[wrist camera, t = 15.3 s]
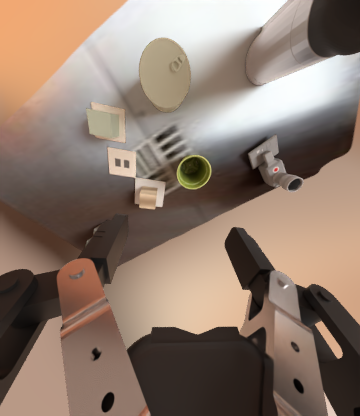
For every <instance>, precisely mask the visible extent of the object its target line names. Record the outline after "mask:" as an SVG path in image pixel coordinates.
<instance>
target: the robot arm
mask: <svg viewBox="0 0 360 416" xmlns="http://www.w3.org/2000/svg"><path fill="white" fill-rule="evenodd" d="M358 52H360V0H288V1H287V2H286V3H285V4H284V5H283V6H282V7H281V8H280V9H279V10H278V11H277V12H276V13H275V14H274V15H273V16H272V17H271V18H270V19H269V20H268V21H267V22H266V23H265V25H264V26H263V27H262V30H261V33H260V34H259V35H258V36H257V37H256V38H255V40H254V41H253V43H252V44H251V46H250V48H249V50H248V54H247V57H246V74H247V77H248V79H249V80H250V81H251V82H252V83H253V84H255V85H264V84H266V83H269V82H271V81H274V80H276V79H279V78H281V77H284V76H286V75H289V74H291V73H294V72H296V71H299V70H301V69H304V68H306V67H309V66H311V65H314V64H316V63H319V62H321V61H324V60H326V59H328V58H331V57H333V56H336V55H351V54H355V53H358ZM127 237H128V215H124V214H115V216H114V218H113V219H112V221H111V220H106V221H105V222H103V223H102V224H100V226H99V227H98V229H97V230H96V232H95V233H94V235H93V237H92V238H91V239H90V241H89V242H88V244H87V245H86V247H85V248H84V249H83V251H82V252H81V254H80V256H79V257H78V258H77V259H76V260H73V261H71V262H69V263H68V264H66V265H65V266H64V267H63V268H62V269H60V270H57V271H52V272H47V273H42V274H37V275H34V274H33V273H32V272H31V271H29V270H27V269H19V270H14V271H11V272H8V273H5V274H3V275H1V276H0V405H1V403H2V401H3V399H4V398H5V396H6V394H7V392H8V390H9V388H10V387H11V385H12V383H13V381H14V380H15V378H16V376H17V374H18V373H19V371H20V369H21V367H22V365H23V363H24V362H25V360H26V358H27V356H28V355H29V353H30V351H31V349H32V348H33V346H34V344H35V342H36V340H37V339H38V337H39V335H40V333H41V331H42V330H43V328H44V326H45V324H46V322H47V321H48V320H49V319H52V318H55V317H58V316H61V315H62V321H63V325H62V327H61V330H60V336H61V347H62V355H63V363H64V371H65V380H66V388H67V396H68V404H69V412H70V416H328V413H327V409H326V402H325V397H324V392H325V394H326V396H327V398H328V400H329V402H330V404H331V406H332V407H333V409H334V411H335V413H336V415H337V416H360V325H359V324H358V323H357V322H356V321H355V319H353V317H352V316H351V315H350V314H349V313H348V311H347V310H346V309H345V308H344V307H343V306H342V305H341V304H340V302H339V301H338V300H337V299H336V298H335V297H334V296H333V295H332V294H331V293H330V292H328V291H327V290H326V289H325V288H323V287H321V286H319V285H316V284H311V285H310V286H309V287H307V288H304V287H302V286H299V285H296V284H294V283H293V281H292V280H291V279H290V278H289V277H288V276H287V275H285V274H284V273H282V272H280V271H276V270H275V269H274V267H273V266H272V264H271V263H270V262H269V260H268V259H267V257H266V256H265V254H264V253H263V252H262V250H261V249H260V248H259V246H258V244H257V243H256V242H255V240H254V239H253V238H251V237H250V236H249V235H248V234H247V232H246V231H245V230H244V229H243V228H237V227H233V228H232V229H231V231H230V233H229V235H228V236H227V238H226V240H225V248H226V251H227V253H228V256H229V258H230V260H231V263H232V265H233V267H234V270H235V272H236V275H237V277H238V279H239V282H240V284H241V286H242V289H243V290H250V291H251V294H250V295H249V300H248V305H247V310H246V315H245V320H244V324H243V326H242V328H241V330H240V332H239V331H238V328H237V327H216V328H214V329H212V330H209V331H207V332H204V333H202V334H199V335H197V334H193V333H190V332H187V331H184V330H181V329H179V328H176V327H153V328H152V331H151V334H148V335H145V336H144V337H142V338H140V339H139V340H137V341H136V342H134V343H133V344H132V345H131V346H130V347H129V348H128V349H127V350H126V348H125V345H124V342H123V339H122V337H121V334H120V331H119V329H118V326H117V323H116V320H115V318H114V315H113V312H112V310H111V307H110V305H109V302H108V300H107V298H106V296H105V293H104V290H103V287H104V284H111V281H112V279H113V276H114V273H115V271H116V268H117V265H118V262H119V260H120V257H121V254H122V252H123V249H124V246H125V243H126V241H127ZM320 321H323V323H324V324H325V326H326V327H327V329H328V330H329V331H330V333H331V334H332V336H333V337H334V338H335V340H336V341H337V343H338V344H339V345H340V347H341V349H342V352H343V356H342V358H340V359H337V357H336V356H335V355H334V353H333V352H332V350H331V348H330V347H329V345H328V344H327V343H326V341H325V340H324V338H323V336H322V335H321V333H320V332H319V330H318V329H317V327H316V326H315V324H316V323H318V322H320ZM323 390H324V391H323Z"/></svg>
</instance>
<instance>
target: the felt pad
mask: <svg viewBox="0 0 360 416" xmlns="http://www.w3.org/2000/svg"><path fill="white" fill-rule="evenodd" d="M165 183H166V182H163V181H156V180H150V179H143V178H135V204H140V192H141V190H142V187H143V186H147V187H154V188H158V190H157V199H156V206H158V207H162V204H163V197H164V190H165Z"/></svg>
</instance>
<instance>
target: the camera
mask: <svg viewBox="0 0 360 416" xmlns="http://www.w3.org/2000/svg"><path fill="white" fill-rule="evenodd" d="M278 153H279V152H278V143H277V135H276V134H275V135H274V136H272V137H271V138H270V139H268V140H267V141H265V142H264V143H262V144H261V145H260V146H258V147H257V148H255V149H254V150H252V151H251V152H249V153H248V156H249V160H250V163H251V166H252V169H255V168H256V167H258V166H259V170H260V173H261V175H262V177H263V180H264V182H265V183H267V184H269V185H270V186H274V187H278V186H282V188H284V189H285V190H287V191H289V192H295V191H297V190H299V189H300V188H301V187H302V185H303V179H302V178H300V177H297V176H295V175H289V174H287V173H286V171H285V168H284V165H283V162H282V160H279V159H276V158H274V157H273V156H275V155H276V154H278ZM262 163H263V164H262Z"/></svg>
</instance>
